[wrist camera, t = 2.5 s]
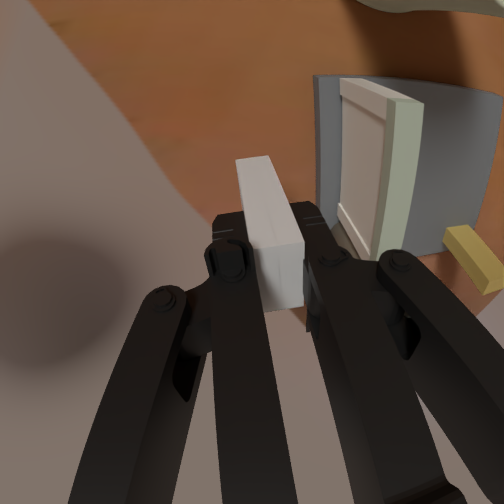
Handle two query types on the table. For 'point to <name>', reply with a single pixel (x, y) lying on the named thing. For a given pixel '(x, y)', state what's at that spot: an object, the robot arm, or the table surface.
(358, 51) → the table surface
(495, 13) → the can
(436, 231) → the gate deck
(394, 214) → the white framed panel
